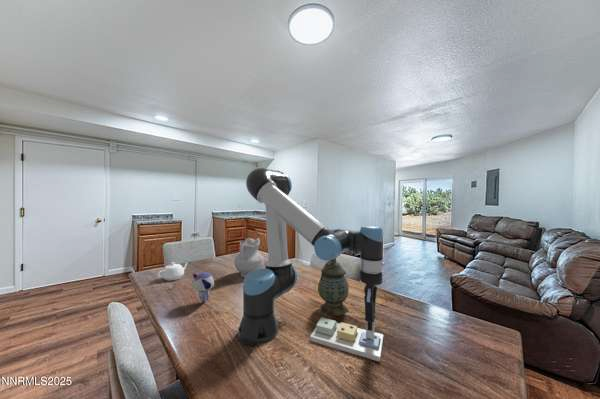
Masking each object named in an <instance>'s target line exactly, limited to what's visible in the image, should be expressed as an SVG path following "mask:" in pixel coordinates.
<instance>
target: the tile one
mask: <svg viewBox="0 0 600 399" xmlns="http://www.w3.org/2000/svg"><path fill="white" fill-rule="evenodd" d="M336 323H337V321H336V320H333V319H330V318H327V317H326V318H325V317H323V316H322V317H320V319H319V320H318V322H317V323H316V326H315V328H316V332H319V333H323V334H326V335H330V336H332V334H333V332H334V330H335V328H336Z"/></svg>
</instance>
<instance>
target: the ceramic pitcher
mask: <svg viewBox="0 0 600 399" xmlns="http://www.w3.org/2000/svg"><path fill="white" fill-rule="evenodd" d="M260 243H261V241H260V238H259V237H256V238H255V239H254V238H251V237H248V238H245V240H242V241H240V242H239V254H238V255H237V256H236V257H235V258H234V261H233V262H234V267H235V269H236V270H237V271H238V272H239V273H240V277H242V278H245V276H246V275H247V274H248V273H249V272H251V271H254V270H259V269H263V266H264V265H265V264H264V262H265V260H264V256H263V255H262V254H260V252H259V247H260Z"/></svg>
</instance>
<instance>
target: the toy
mask: <svg viewBox="0 0 600 399" xmlns="http://www.w3.org/2000/svg"><path fill="white" fill-rule="evenodd" d="M192 277H193V278H194V280H193V282H192V288H193V290H195V291H197V292H198V293H197V296H198V298H199V299H200V300H201V303H203V304H204V303H205V302H207V301H208V300H209V297H210V296H209V294H210V290H211V289H212V288H213V287H214V286H215V279H214V276H213V275H212V274H211V273H210V272H207V271H204V272H200V273H198V274H196V273H192Z"/></svg>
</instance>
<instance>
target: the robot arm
mask: <svg viewBox="0 0 600 399" xmlns="http://www.w3.org/2000/svg"><path fill="white" fill-rule="evenodd" d="M245 181H246V182H245V186H246V190H247V191H248V192H249V194H250V195H251V197H253V199H254V200H256V201H257V202H258V203H260V204H264V206H265V222H266V225H265V226H266V238H267V239H266V240H267V256H268V260H266V262H265V264H264V266H265V268H261V269H259V270H254V271H251V272H249V273H248V274H247V275H246V276H245V277H243V285H242V290H243V293H242V296H243V297H242V300H243V301H242V303H243V304H242V305H243V306H242V309H243V311H242V312H243V313H242V318H241V320H240V323H239V327H238V331H237V332H238V333H237V336H238V337H237V338H238V340H239V341H240V342H241V343H242V344H243V345H245V346H249V347H256V346H257V345H259V344H260V345H261V344H262V345H263V344H265V343H269V342H270V341H272V340H273V339H275V338H276V337H277V335H278V334H279V325H278V321H277V318H276V316H275V301H276V299H279V298H280V297H282V296H283V295H284V294H286V293H289V292H290V291H291V290H292V289H293V288H294V287H295V286H296V284H297V280H298V273H297V269H296V268H294V267H295V266H294V265H293V263H292V262H293V261H292V260H291V259H290V258H289V254H288V252H289V251H288V239H287V238H288V236H287V235H288V234H287V224H288V225H289V226H290V227H291V228H292V229H293V230H295V232H297V233H298V234H299V235H300V236H301V237H302V238H304V239H305V240H306V241H307V242H308V243H309V244H311V245H312V246H313V249H314V253H315V255H316V257H318V259H320V260H322V261H325V262H328V261H329V260H332V259H335V258H336V259H337V258H338V257H340V256H341V255H342V254H345V253H346V252H354V253H359V255H360V256H359V257H360V258H359V268H360V269H359V270H360V271H359V280H360V282H361V283H363V284H365V287H364V288H363V290H364V291H363V292H364V297H363V299H364V317H363V320H365V330H366V338H369V339H373V340H374V332H375V327H376V326H375V319H377V318H378V316H377V315H376V299H377V291H378V286H379V285H382V283H383V272H382V271H383V266H385V262H383V259H384V257H383V256H384V255H383V254H384V253H383V252H384V234H383V233H384V232H383V228H381V227H380V226H377V225H362V226H360V229H359V230H349V229H348V230H347V229H341V228H335V229H334V228H332V229H329V228H328V227H326V226H325V225H324V224H322V222H321V221H319V220H318V219H316V217H314V216H313V215H311V214H310V213H309V211H307V210H306V209H304V207H302V206H300V205H299V204H298V203H297V202H296V201H294V200H293V199H292V198H290V197H289V195H290V193H291V191H292V187H293V185H292V184H293V183H292V181H291V179H290V177H289V175H287V174H286V173H285V172H283V171H280V170H274V169H269V168H264V167H259V168H255V169H253V170H252V171H251V172H249V174H248V176H247V177H246V180H245Z"/></svg>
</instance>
